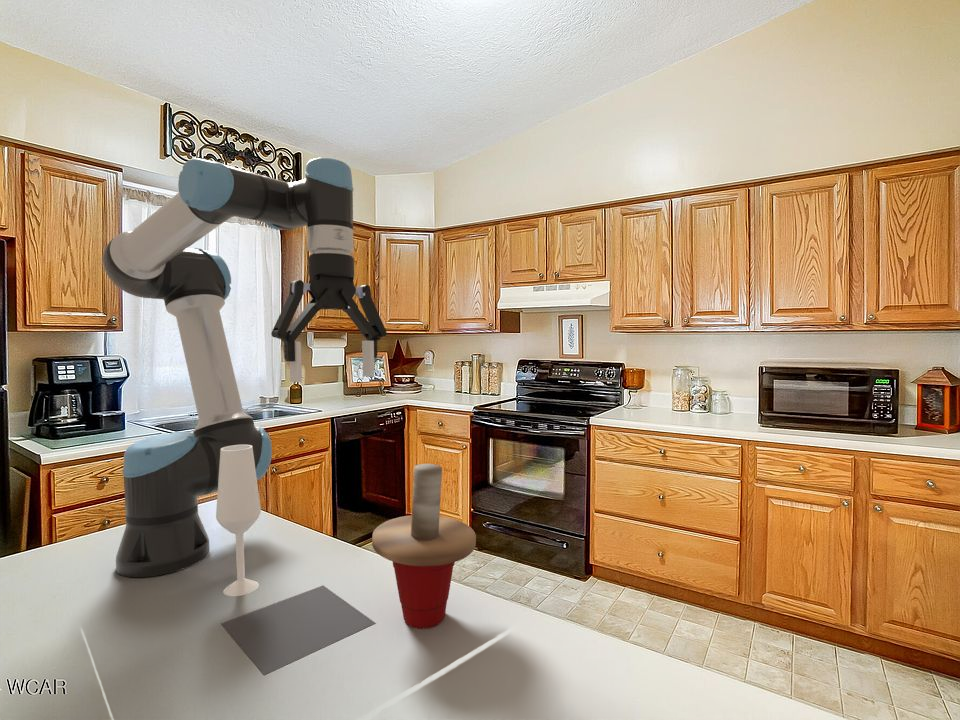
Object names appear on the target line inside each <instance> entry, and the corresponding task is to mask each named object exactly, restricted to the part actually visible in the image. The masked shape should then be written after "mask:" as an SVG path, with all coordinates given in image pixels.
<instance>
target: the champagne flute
mask: <svg viewBox="0 0 960 720" xmlns="http://www.w3.org/2000/svg"><path fill="white" fill-rule="evenodd" d="M258 486H259V485H258V480H257V477H256V469H255V462H254V455H253V447H252V445H232V446H227V447H223V448H221V450H220V465H219V479H218V492H217V494H216V495H217V496H216V511H215V519H216V521H217V523H218V524H219V525H220V526H221V527H222V528H223V529H225V530H226V531H228V532H229V533H231V534H233V535H235V554H236V556H235V557H236V560H235V561H236V580H235V581H233V582H231V583H230V584H229V585H227V586H226V587H225V588H224V589H223V594H224V595H226V596H228V597H239V596H244V595H248V594H250V593H252V592H254V591H256V590H257V589H258V588H259V585H260V584H259V582H258V581H257V580H252V579H249V578H246V576H245V575H246V571H245V570H246V569H245V546H244V545H245V540H244V538H245V537H244V533H246V532H247V531H248V530H249V529H250V528H251V527H252V526H253V525H254V524H255V523H256V521H258V519H259V518H260V515H261V513H262V507H261V501H260V491H259V487H258Z"/></svg>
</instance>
